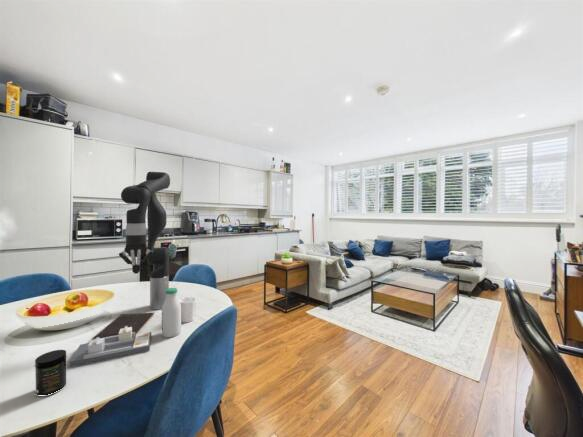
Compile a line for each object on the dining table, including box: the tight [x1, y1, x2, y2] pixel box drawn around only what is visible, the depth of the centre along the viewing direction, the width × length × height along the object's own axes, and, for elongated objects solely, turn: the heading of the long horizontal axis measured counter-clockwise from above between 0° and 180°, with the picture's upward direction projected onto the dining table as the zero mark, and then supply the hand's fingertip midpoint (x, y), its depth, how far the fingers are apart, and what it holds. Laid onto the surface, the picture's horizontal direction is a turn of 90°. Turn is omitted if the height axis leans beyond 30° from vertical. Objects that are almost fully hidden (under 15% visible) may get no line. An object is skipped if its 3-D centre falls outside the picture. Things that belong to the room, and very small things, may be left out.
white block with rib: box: [88, 337, 105, 354], centre depth 90 cm, size 4×4×4 cm
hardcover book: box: [91, 312, 155, 340], centre depth 113 cm, size 16×23×2 cm
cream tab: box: [119, 326, 132, 341], centre depth 99 cm, size 4×4×4 cm
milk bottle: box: [161, 287, 182, 338], centre depth 108 cm, size 8×8×20 cm
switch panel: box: [68, 331, 152, 368], centre depth 95 cm, size 12×24×3 cm, turn 117°
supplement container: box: [34, 349, 67, 396], centre depth 74 cm, size 7×7×10 cm
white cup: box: [178, 296, 197, 323], centre depth 122 cm, size 8×8×10 cm
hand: (136, 273), depth 107 cm, fingers closed
